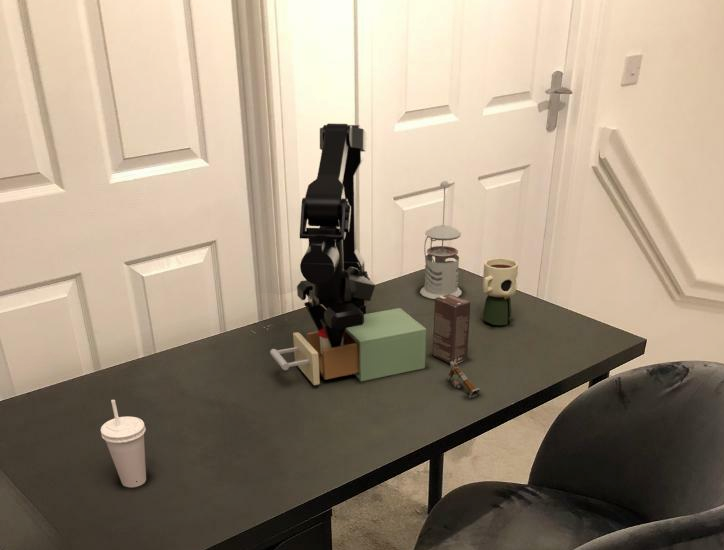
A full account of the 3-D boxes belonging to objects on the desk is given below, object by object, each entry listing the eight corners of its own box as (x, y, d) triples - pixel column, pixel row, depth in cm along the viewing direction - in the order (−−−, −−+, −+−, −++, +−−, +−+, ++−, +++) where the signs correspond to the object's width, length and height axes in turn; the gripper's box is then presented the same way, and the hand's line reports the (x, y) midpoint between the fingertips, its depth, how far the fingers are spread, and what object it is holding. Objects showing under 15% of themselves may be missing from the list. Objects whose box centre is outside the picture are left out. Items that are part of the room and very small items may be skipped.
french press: (433, 302, 187) (436, 189, 173) (408, 286, 196) (410, 177, 182) (469, 295, 191) (476, 183, 177) (444, 279, 200) (448, 171, 185)
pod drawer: (286, 391, 150) (284, 359, 146) (268, 368, 158) (266, 337, 154) (375, 372, 156) (375, 341, 152) (354, 351, 164) (353, 321, 160)
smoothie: (116, 470, 130) (98, 391, 122) (158, 468, 130) (142, 389, 122) (109, 493, 124) (89, 411, 116) (152, 491, 125) (135, 409, 117)
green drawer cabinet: (360, 381, 155) (360, 341, 150) (338, 357, 163) (336, 319, 159) (425, 368, 159) (426, 329, 155) (399, 345, 168) (399, 307, 163)
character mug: (495, 334, 173) (499, 273, 165) (468, 325, 177) (471, 265, 169) (524, 318, 179) (530, 260, 172) (498, 310, 183) (502, 252, 176)
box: (468, 359, 162) (471, 301, 156) (451, 366, 160) (454, 307, 153) (447, 349, 166) (450, 292, 159) (431, 355, 164) (432, 298, 157)
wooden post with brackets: (448, 374, 155) (456, 357, 151) (472, 404, 152) (480, 388, 148) (441, 376, 154) (448, 360, 151) (465, 407, 151) (473, 390, 147)
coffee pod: (313, 352, 155) (312, 332, 153) (331, 344, 158) (330, 324, 156) (332, 359, 153) (331, 339, 150) (350, 351, 156) (349, 331, 153)
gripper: (390, 274, 142) (390, 357, 150) (349, 243, 156) (351, 321, 164) (330, 284, 138) (334, 368, 147) (293, 251, 152) (298, 330, 161)
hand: (331, 346), depth 155 cm, fingers closed on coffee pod, 4 cm apart
